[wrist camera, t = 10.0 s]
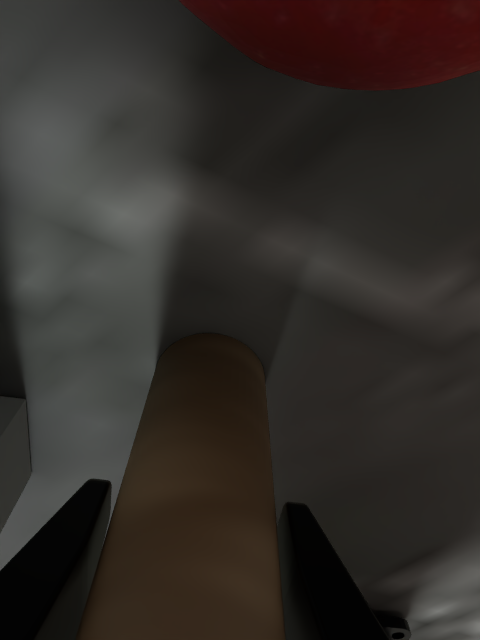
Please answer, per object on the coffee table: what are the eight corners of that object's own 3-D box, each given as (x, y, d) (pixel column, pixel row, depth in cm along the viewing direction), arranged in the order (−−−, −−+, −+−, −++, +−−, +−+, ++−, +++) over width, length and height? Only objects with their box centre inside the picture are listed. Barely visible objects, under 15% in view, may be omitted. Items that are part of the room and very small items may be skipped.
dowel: (274, 342, 12) (385, 1191, 3) (254, 429, 13) (281, 1172, 4) (159, 325, 11) (-130, 1191, 2) (150, 415, 13) (-54, 1171, 4)
